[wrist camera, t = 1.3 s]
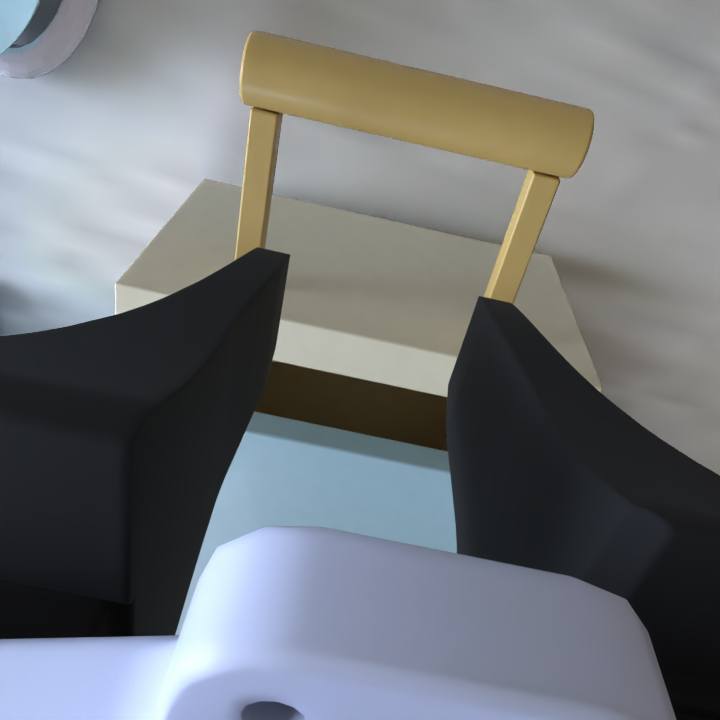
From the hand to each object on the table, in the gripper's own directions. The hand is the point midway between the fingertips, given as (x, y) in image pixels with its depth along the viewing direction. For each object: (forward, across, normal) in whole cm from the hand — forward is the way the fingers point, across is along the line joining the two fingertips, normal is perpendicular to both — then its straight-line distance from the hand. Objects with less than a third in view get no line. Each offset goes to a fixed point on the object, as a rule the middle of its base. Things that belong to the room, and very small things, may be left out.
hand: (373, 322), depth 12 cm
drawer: (+9, 0, +7) cm, 12 cm away
